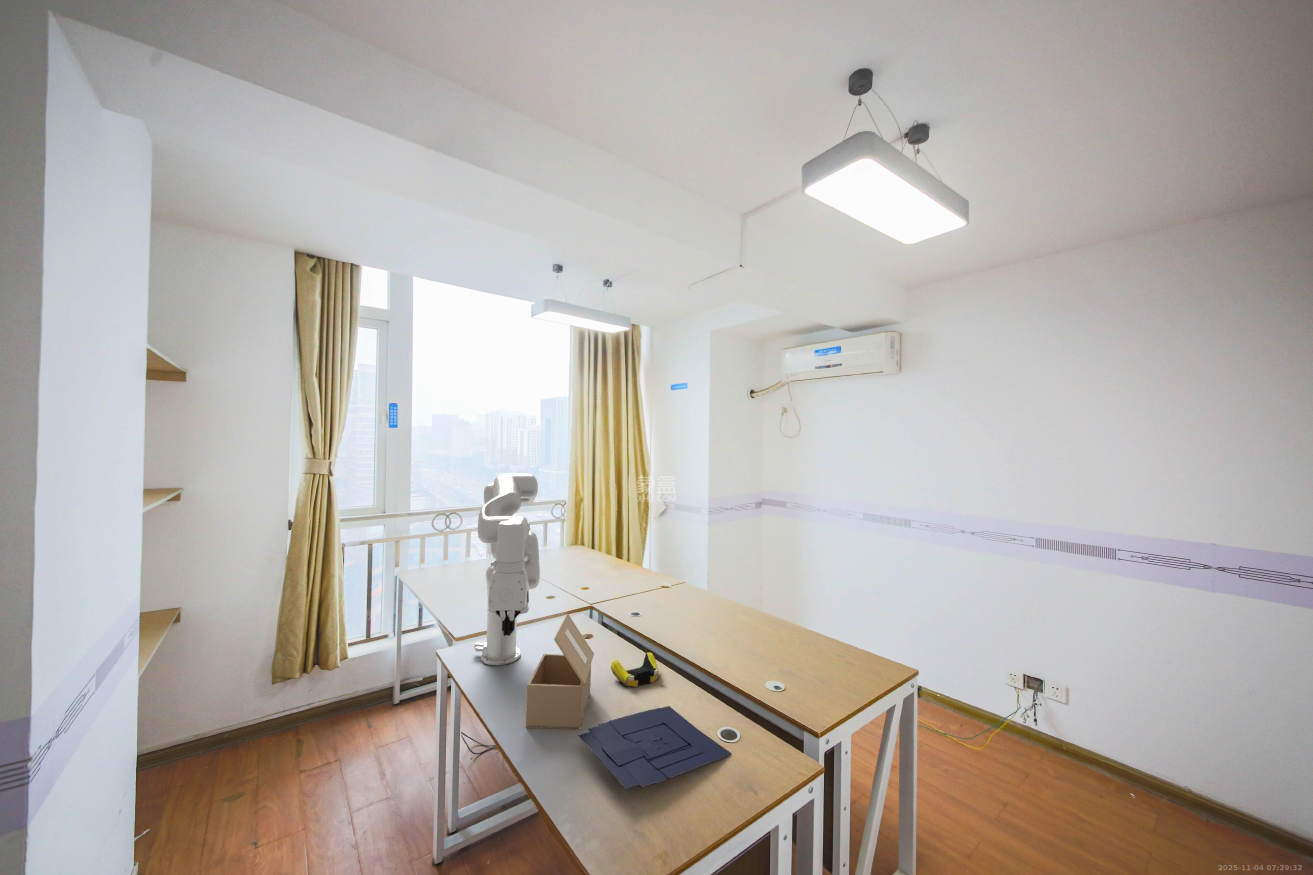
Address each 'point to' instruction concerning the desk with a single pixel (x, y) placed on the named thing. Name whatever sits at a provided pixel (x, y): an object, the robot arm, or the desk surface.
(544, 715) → the carton
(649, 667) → the gaming controller
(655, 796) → the desk surface
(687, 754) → the folded navy cloth
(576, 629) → the flap
